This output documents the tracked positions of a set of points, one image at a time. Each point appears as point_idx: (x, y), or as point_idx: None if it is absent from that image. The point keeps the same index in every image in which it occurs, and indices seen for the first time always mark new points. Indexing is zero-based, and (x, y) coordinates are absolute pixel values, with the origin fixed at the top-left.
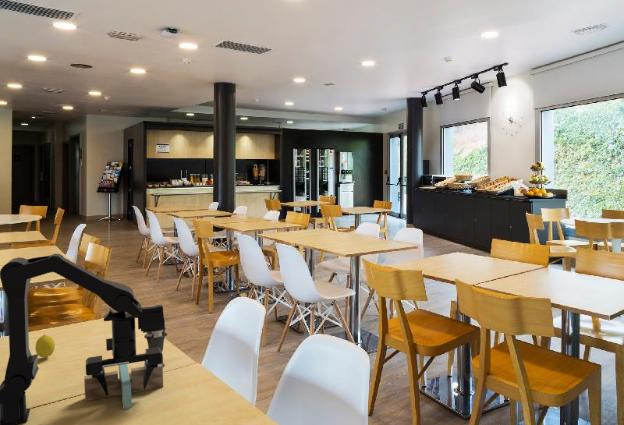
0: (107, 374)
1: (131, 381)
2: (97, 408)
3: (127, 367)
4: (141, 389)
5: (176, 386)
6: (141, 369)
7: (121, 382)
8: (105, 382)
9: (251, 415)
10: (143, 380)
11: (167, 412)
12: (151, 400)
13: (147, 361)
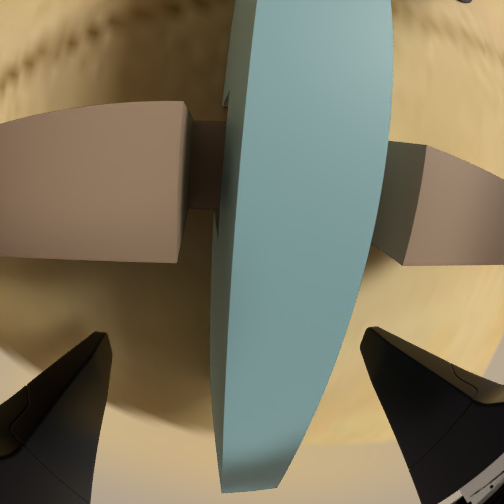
0: (11, 219)
1: None
2: (75, 320)
3: (390, 52)
4: None
5: None
6: (482, 258)
7: (219, 374)
8: (89, 485)
9: None
10: (396, 365)
11: (352, 421)
12: (353, 341)
13: (477, 498)
